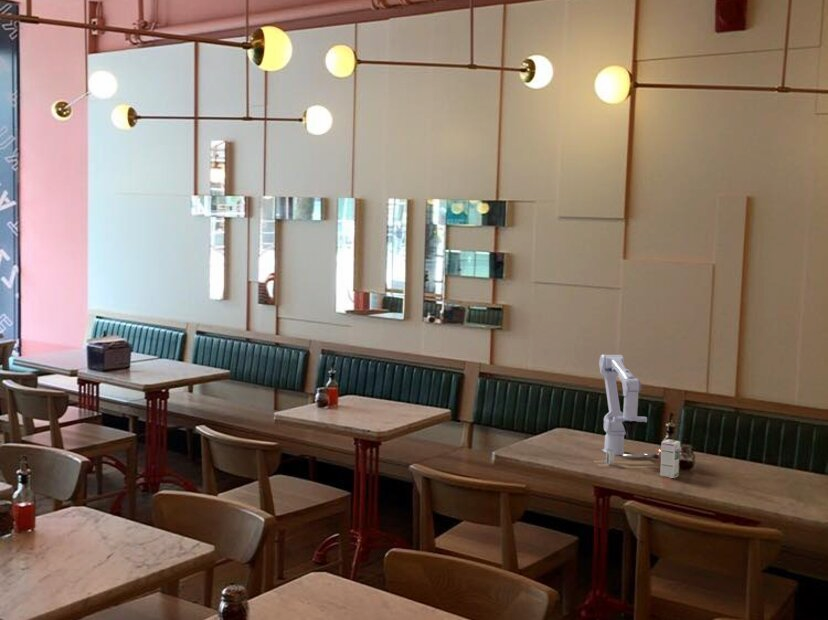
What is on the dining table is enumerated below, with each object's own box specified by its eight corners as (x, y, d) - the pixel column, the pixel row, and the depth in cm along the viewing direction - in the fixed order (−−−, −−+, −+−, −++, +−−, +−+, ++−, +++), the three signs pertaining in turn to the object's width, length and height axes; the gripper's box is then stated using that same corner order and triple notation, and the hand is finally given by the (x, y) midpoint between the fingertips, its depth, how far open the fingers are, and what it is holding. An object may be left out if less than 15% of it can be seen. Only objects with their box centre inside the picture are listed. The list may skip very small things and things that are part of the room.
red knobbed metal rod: (624, 465, 393) (625, 451, 393) (619, 461, 399) (620, 447, 398) (665, 465, 396) (666, 451, 395) (659, 461, 401) (660, 447, 401)
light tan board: (592, 461, 401) (592, 460, 401) (648, 461, 404) (648, 460, 404) (601, 469, 389) (601, 467, 389) (659, 468, 392) (659, 467, 392)
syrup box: (673, 479, 377) (675, 443, 376) (659, 476, 381) (661, 441, 379) (678, 476, 382) (681, 441, 380) (664, 473, 385) (667, 438, 384)
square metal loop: (603, 462, 398) (604, 448, 398) (610, 462, 399) (611, 448, 398) (608, 465, 392) (609, 452, 392) (615, 465, 393) (616, 452, 392)
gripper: (617, 408, 393) (615, 440, 394) (650, 408, 396) (648, 440, 397) (611, 405, 400) (609, 437, 401) (644, 405, 403) (642, 436, 404)
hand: (628, 438), depth 400 cm, fingers closed
